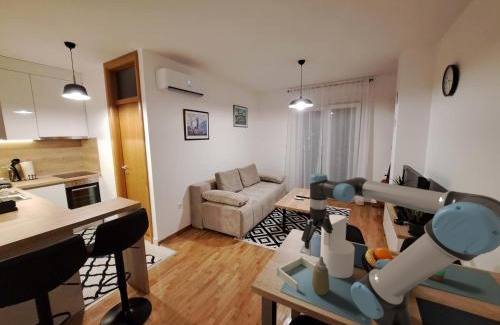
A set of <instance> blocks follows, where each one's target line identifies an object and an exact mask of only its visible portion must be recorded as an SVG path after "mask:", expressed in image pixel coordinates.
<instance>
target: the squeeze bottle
mask: <svg viewBox="0 0 500 325" xmlns="http://www.w3.org/2000/svg"><path fill="white" fill-rule="evenodd" d="M315 265H316V266H314V271H312V279H311V285H312V288H313V291H314V293H315V294H317V295H319V296H325V295H326V294H327V293H328V290H330V289H329V288H330V278H329V276H330V275H329V274H328V269H327V268H326V264H325V263H324V261H323V257H322V256H321V255H320V257H319V260H318V261H316V262H315Z"/></svg>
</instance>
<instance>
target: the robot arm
mask: <svg viewBox="0 0 500 325" xmlns="http://www.w3.org/2000/svg"><path fill="white" fill-rule="evenodd" d="M356 196H357V197H361V198H366V199H371V200H374V201H378V202H383V203H387V204H391V205H395V206H398V207H403V208H407V209H412V210H416V211H420V212H424V213H427V214H433V215H434V216H433V218H432V219H430V220H429V221H428V222H427V223H426V224H425V225H424V226H423V228H424V232H425V233H424V234H422V235H421V236H420V237H419V238H417V239H416V240H415V241H414V242H413V243H412V244H410V245H409V246H408V247H407V248H406V249H404V250H403V251H402V252H400V253H399V254H398V255H396V256H395V257H394V258H393V259H392V260H389V259H381V258H380V259H378V260H377V261H376V263H375V268H372V270H370V271H368V273H367V274H365V275H364V276H363V277H361V279H359V280H358V281H355V282H353V284H352V285H351V288H350V294H351V298H352V300H353V302H354V304H355V306H356V307H357V309H359V311H360V312H361V313H362V314H363V315H365V316H367V317H368V318H369V319H372V320H374V322H375V323H377V324H378V325H412V323H413V322H412V316H411V312H410V309H409V306H408V305H409V297H410V291H411V290H412V289H414V288H415V287H417V286H418V285H419V284H421V283H423V282H424V281H426V280H429V279H428V278H429V277H431V276H432V275H434V274H435V273H437V272H438V271H440V270H442V269H443V268H445V267H446V266H448V265H449V266H450V265H451V264H452V263H454V262H456V261H462V262H470V261H473V259H475V258H477V257H479V256H481V255H484V254H488V253H490V252H494V250H497V248H499V246H500V200H499V199H496V198H494V197H491V196H486V195H483V194H476V193H469V192H460V191H454V190H449V191H446V192H440V191H436V190H435V191H434V190H429V189H422V188H417V187H412V186H403V185H398V184H393V183H386V182H381V181H380V182H379V181H374V180H368V179H366V178H365V177H353V178H350V179H345V180H341V181H335V180H334V181H333V180H329V179H328V174H325V173H312V174H311V175H310V177H309V215H310V216H311V218H310V219H306V220H305V227H304V229H303V232H302V236H301V239H300V240H301V242H303V243H304V248H305V250H304V251H305V252H304V253H305V254H306V255H307V256H309V257H311V256H312V237H313V236H314V233H315V231H316V230H317V229H319V227H321V228H322V227H323V229H324V230H325V231H326V232H324V245H326V246H328V247H329V240H330V233H332V231H333V227H332V225H331V222H330V219H329V215H330V214H329V213H327V212H328V211H327V207H328V199H331V200H334V201H337V202H340V203H350V202H352V200H354V197H356Z"/></svg>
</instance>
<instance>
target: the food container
mask: <svg viewBox="0 0 500 325" xmlns="http://www.w3.org/2000/svg"><path fill="white" fill-rule="evenodd" d="M449 266H450V264H449V265H448V266H446V267H445V268H443V269H442V270H440V271H438V272H437V273H435V274H434V275H432V276H431V277H429V278H428V279H427V280H430V281H433V282H439V283H440V282H443V280H444V278H445V274H446V271H447V269H448V268H450V267H449Z"/></svg>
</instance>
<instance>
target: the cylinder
mask: <svg viewBox="0 0 500 325" xmlns="http://www.w3.org/2000/svg"><path fill="white" fill-rule="evenodd" d="M347 218H348V217H347V216H346V215H345V216H344V215H339V214H329V219H330V222H331V225H332V227H333V231H332V233H330V240H329V247H328V246H326V245H324V232H326V231H325V230H324V229H323V227H322V226H321V232H320V234H321V236H320V256H322V257H323V261H324V263H325V264H326V268H327V269H328V276H330V277H334V278H335V279H336V278H338V279H347V278H350V277H352V275H353V273H354V264H355V251H356V250H355V249H356V248H355V245H354V244H353V243H352V242H350V241H348V240H347V238H346V235H347V221H348V220H347Z"/></svg>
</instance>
